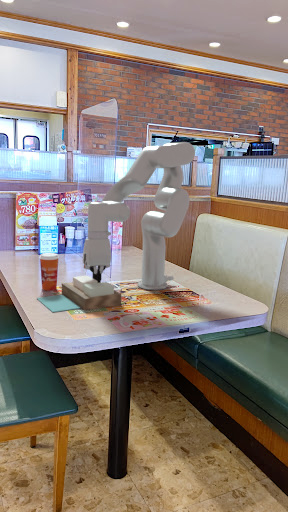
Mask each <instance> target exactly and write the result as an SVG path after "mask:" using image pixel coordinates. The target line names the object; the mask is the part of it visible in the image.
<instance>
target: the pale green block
mask: <svg viewBox="0 0 288 512" xmlns="http://www.w3.org/2000/svg"><path fill="white" fill-rule="evenodd" d="M114 290H115V286H114V285H113V284H111V283H109V282H108V281H104V282H101V283H93V284H85V285H84V293H85V294H86V295H88V296H89V297H96V296H104V295H111V294H114Z"/></svg>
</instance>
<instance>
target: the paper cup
mask: <svg viewBox="0 0 288 512" xmlns="http://www.w3.org/2000/svg"><path fill="white" fill-rule="evenodd" d="M38 258H39V264H40V276H41V290H43V291H46V292H48V291H49V292H52V291H56V290H57V287H58V270H59V269H58V268H59V259H60V257H59V254H58V253H54V252H43V253H41V254H40V255H39V257H38Z"/></svg>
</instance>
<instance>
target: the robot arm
mask: <svg viewBox="0 0 288 512" xmlns="http://www.w3.org/2000/svg"><path fill="white" fill-rule="evenodd" d="M195 157H196V149H195V147H194V146H193V144H191V143H190V142H187V141H181V142H168V143H165V144H162V145H150V146H146V147H144V148H143V149H142V150H141V151H140V153H139V154H138V156H137V157H136V159H135V161H134V162H133V164H132V165H131V167H130V168H129V169H128V171H127V173H126V174H125V175H124V176H123V177H121V178H120V179H119V180H118V181H117V182H116V183H115V184H114V185H112V186H111V187H110V189H109V190H108V191H107V192H106V193H105V194H104V197H103V198H102V200H101V201H92V202H90V203H89V204H88V205H87V206H88V209H87V238H85V239H84V245H83V249H82V250H83V251H82V264H83V269H85V270H89V271H90V272H91V273H92V278H93V279H95V280H97V281H98V283H102V282H101V281H102V275H103V273H104V271H105V270H106V269H107V268H110V267H111V262H112V249H111V248H112V247H111V241H110V238H109V237H110V236H111V235H112V232H111V231H109V222H115V223H124V222H126V221H127V220H128V219H129V218H130V216H131V209H130V207H129V205H128V204H126V203H125V202H123V201H124V200H125V199H126V198H127V197H128V196H130V195H133V194H135V193H137V192H139V191H141V190H143V189H144V188H145V187H146V186H147V184H148V183H149V181H150V180H151V177H152V176H153V174H154V173H155V171H156V170H157V169H163V174H162V175H163V176H162V178H161V181H160V183H159V186H158V188H157V191H156V192H155V195H154V199H153V203H154V206H155V208H157V209H159V210H162V211H157V210H151V211H148V212H146V213H145V214H144V215H142V219H141V223H140V225H141V232H142V255H141V256H142V260H141V262H142V263H141V280H139V281H138V282H137V286H138V288H141V289H143V290H149V291H150V290H151V291H160V290H164V289H167V288H168V283H167V282H169V281H173V280H175V279H174V276H173V275H165V271H166V270H165V269H166V268H165V266H166V249H167V245H166V238H172V237H174V236H176V235H177V234H178V232H179V230H180V229H181V226H182V224H183V222H184V219H185V216H186V215H187V212H188V210H189V207H190V201H191V200H190V195H189V193H188V191H187V189H186V190H185V189H184V188H182V185H183V182H184V172H183V168H182V166H185V165H186V166H187V165H189V164H190V163H192V162H193V160H194V159H195ZM163 211H164V212H163Z"/></svg>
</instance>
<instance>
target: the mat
mask: <svg viewBox="0 0 288 512" xmlns="http://www.w3.org/2000/svg"><path fill="white" fill-rule="evenodd" d="M36 300H37V301H39V302H40V303H41V304H42V305H44V307H46V308H47V309H48V310H49V311H50V312H51V313H59V312H65V311H71V310H78V309H82V308H81V307H80V306H78V305H77V304H76V303H74V302H73V301H71V300H70V299H69V298H67V297H66V296H64V295H63V294H56V295H49V296H40V297H36Z"/></svg>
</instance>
